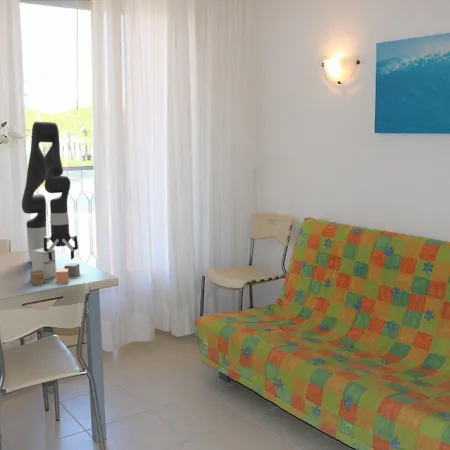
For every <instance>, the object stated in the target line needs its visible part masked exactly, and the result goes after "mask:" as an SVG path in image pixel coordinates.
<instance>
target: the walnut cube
mask: <svg viewBox="0 0 450 450" xmlns="http://www.w3.org/2000/svg"><path fill="white" fill-rule="evenodd" d="M29 278H30V284H31V286H38V285H39V284H40V285H44V284H45V280H44V275H43V271H42V270H40V271H33V270H30V271H29Z"/></svg>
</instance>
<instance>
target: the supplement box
mask: <svg viewBox="0 0 450 450" xmlns="http://www.w3.org/2000/svg"><path fill="white" fill-rule="evenodd" d="M51 252H52V261H51V260H49V254H48V252H47V251H44V248H42V249H37V250H33V251H32V262H31V265H32V266H31V268H32V269H31V271H40V270H42V271H43V275H44V281H45V280H48V279H52V278H56V269H57V268H56V267H57V263H56V249H54V248H53V249H52V251H51Z"/></svg>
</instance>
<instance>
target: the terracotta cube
mask: <svg viewBox="0 0 450 450" xmlns="http://www.w3.org/2000/svg"><path fill="white" fill-rule="evenodd" d="M69 278H70V277H68V269H65V268H59V269H57V268H56V277H55V282H56V284H65V283H67V284H68V283H69V282H70V281H69V280H70V279H69Z"/></svg>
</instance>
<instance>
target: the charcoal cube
mask: <svg viewBox="0 0 450 450" xmlns="http://www.w3.org/2000/svg"><path fill="white" fill-rule="evenodd" d="M64 269H68V277H69V278H70V277H71V278H72V277H73V278H76V277H78V276H80V263H77V262H76V263H74V262H73V263H72V262H71V263H70V262H69V263H67V264H64Z"/></svg>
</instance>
